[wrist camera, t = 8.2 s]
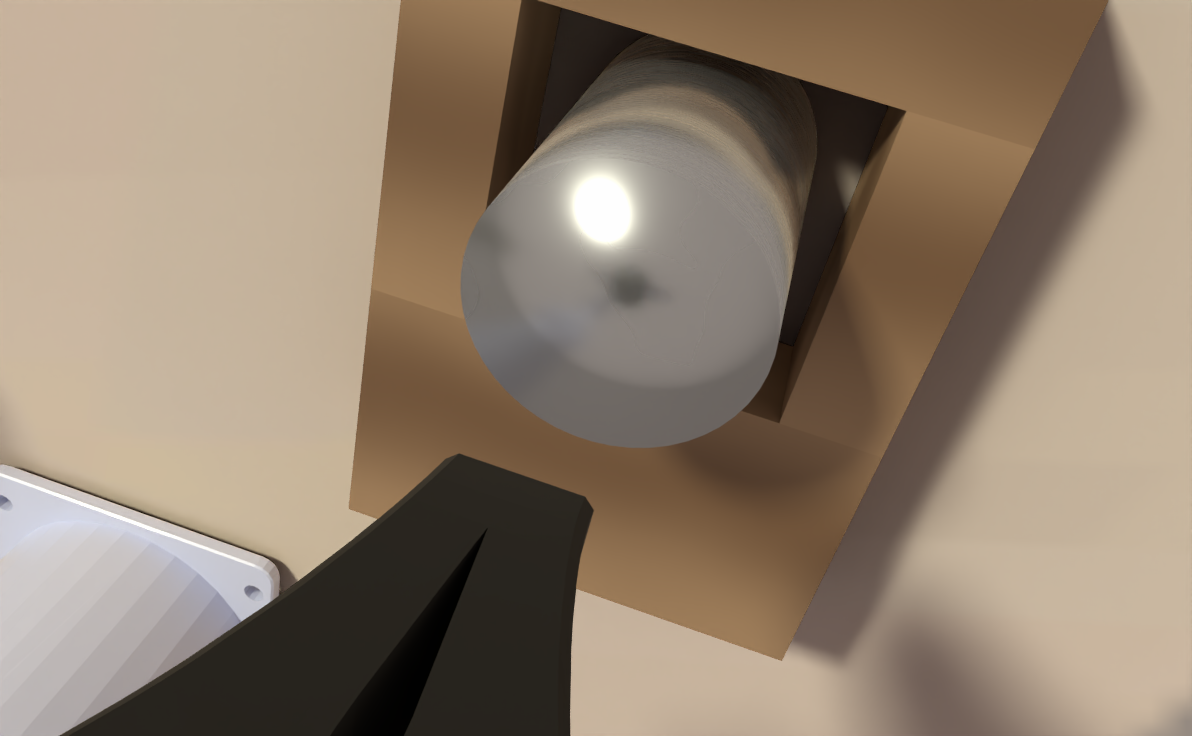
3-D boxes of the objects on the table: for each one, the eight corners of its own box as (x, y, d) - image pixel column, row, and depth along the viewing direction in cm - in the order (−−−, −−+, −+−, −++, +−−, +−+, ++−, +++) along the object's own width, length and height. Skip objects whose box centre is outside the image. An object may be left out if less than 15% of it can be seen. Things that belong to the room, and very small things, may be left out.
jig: (793, 572, 22) (781, 660, 20) (398, 436, 23) (348, 508, 21) (1090, -60, 14) (1119, -22, 12) (488, -229, 15) (423, -219, 13)
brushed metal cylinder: (784, 275, 18) (738, 482, 13) (569, 222, 19) (450, 401, 14) (846, 55, 16) (819, 205, 11) (601, 0, 17) (472, 122, 12)
